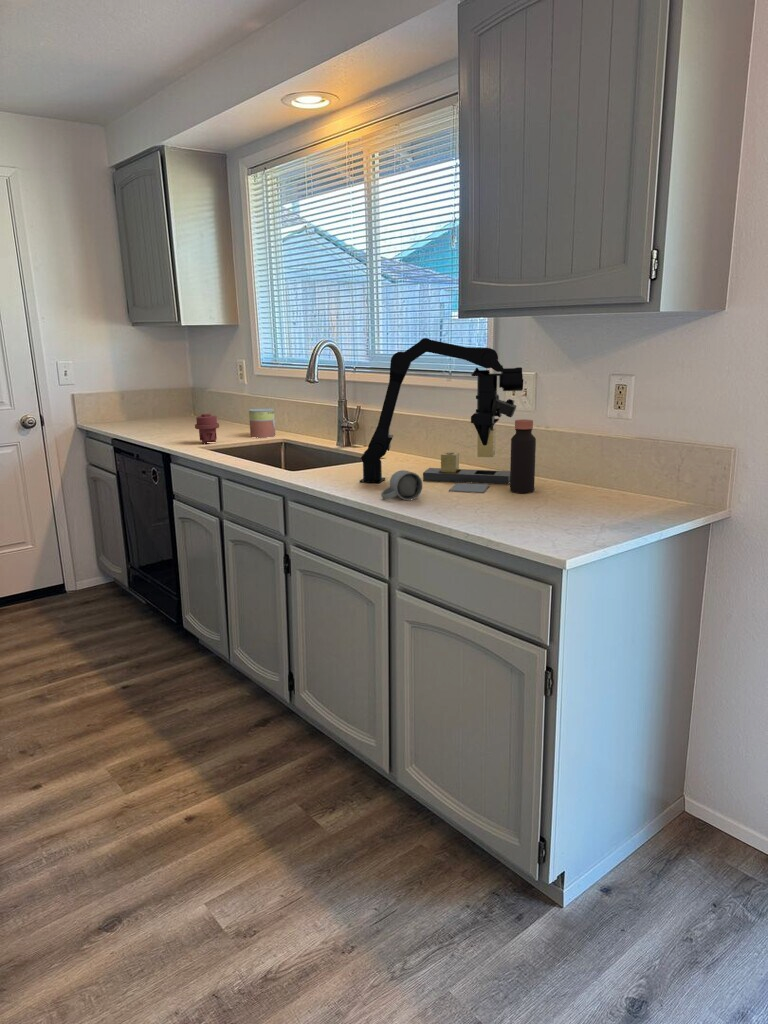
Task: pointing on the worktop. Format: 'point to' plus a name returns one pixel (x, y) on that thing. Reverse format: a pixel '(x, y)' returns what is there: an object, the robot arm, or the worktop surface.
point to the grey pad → (469, 487)
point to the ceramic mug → (403, 486)
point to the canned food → (262, 422)
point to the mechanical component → (207, 427)
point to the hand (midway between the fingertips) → (486, 444)
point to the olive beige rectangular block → (490, 447)
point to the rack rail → (468, 476)
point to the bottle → (522, 457)
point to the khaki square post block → (450, 462)
